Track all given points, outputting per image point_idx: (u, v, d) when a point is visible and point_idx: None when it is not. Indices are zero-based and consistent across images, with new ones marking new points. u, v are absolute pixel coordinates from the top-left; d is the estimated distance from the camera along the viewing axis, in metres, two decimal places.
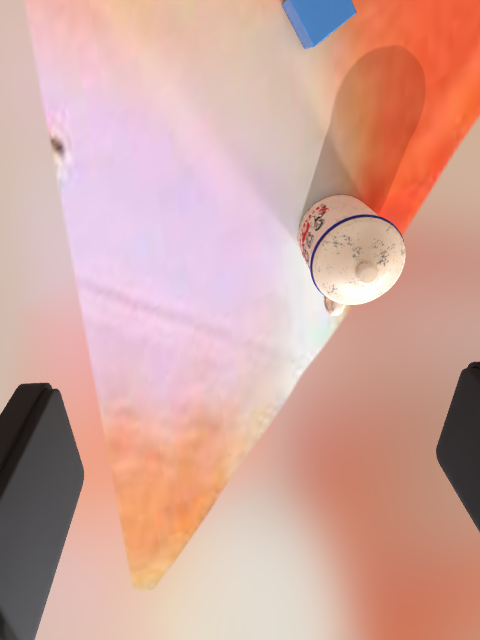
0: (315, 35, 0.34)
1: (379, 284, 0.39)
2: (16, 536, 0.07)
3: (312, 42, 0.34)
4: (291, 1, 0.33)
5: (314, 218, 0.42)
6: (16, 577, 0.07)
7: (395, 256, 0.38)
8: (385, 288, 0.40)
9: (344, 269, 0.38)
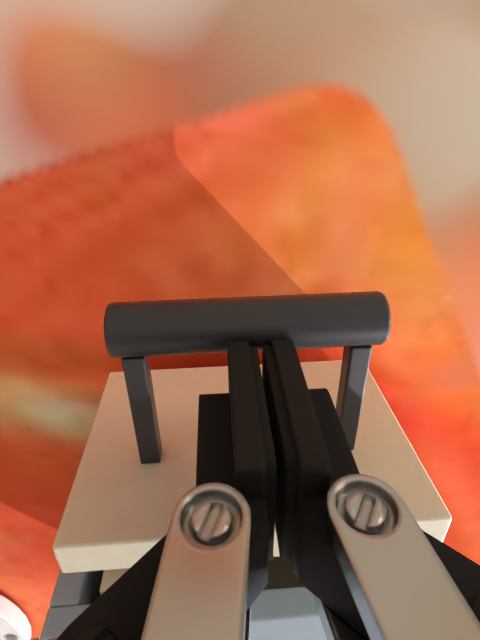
0: None
1: None
2: None
3: None
4: None
5: None
6: None
7: None
8: None
9: None
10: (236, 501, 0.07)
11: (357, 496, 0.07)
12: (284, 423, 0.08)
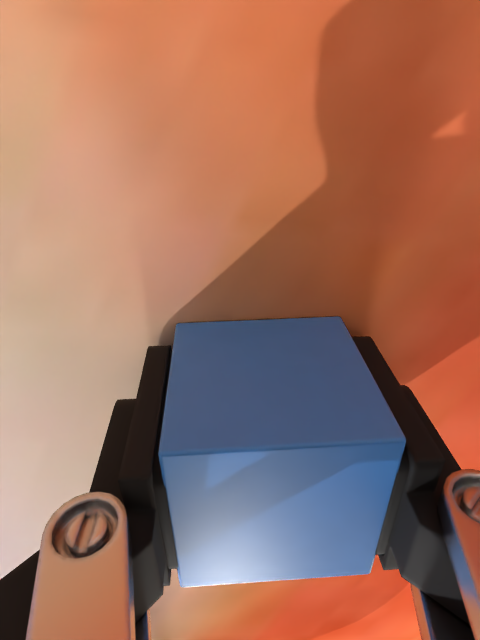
0: (201, 571, 0.08)
1: None
2: None
3: (180, 577, 0.08)
4: (162, 464, 0.07)
5: None
6: None
7: None
8: None
9: None
10: (116, 511, 0.06)
11: (473, 491, 0.07)
12: None
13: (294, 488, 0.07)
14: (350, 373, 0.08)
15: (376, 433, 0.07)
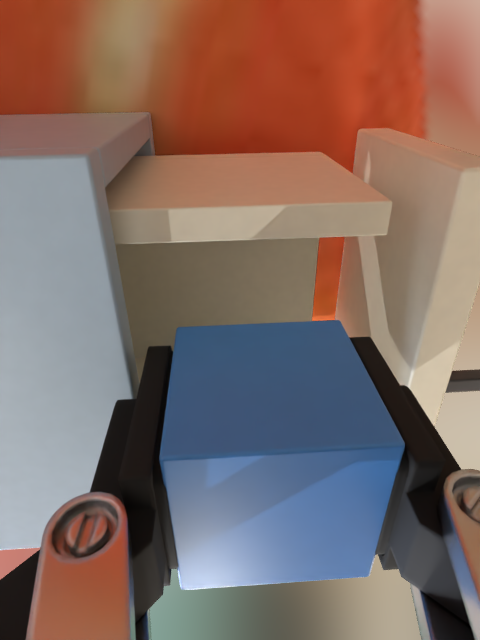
0: (201, 574, 0.08)
1: None
2: None
3: (181, 580, 0.08)
4: (163, 469, 0.07)
5: None
6: None
7: None
8: None
9: None
10: (116, 511, 0.06)
11: (473, 491, 0.07)
12: None
13: (294, 492, 0.07)
14: (349, 377, 0.08)
15: (375, 438, 0.07)
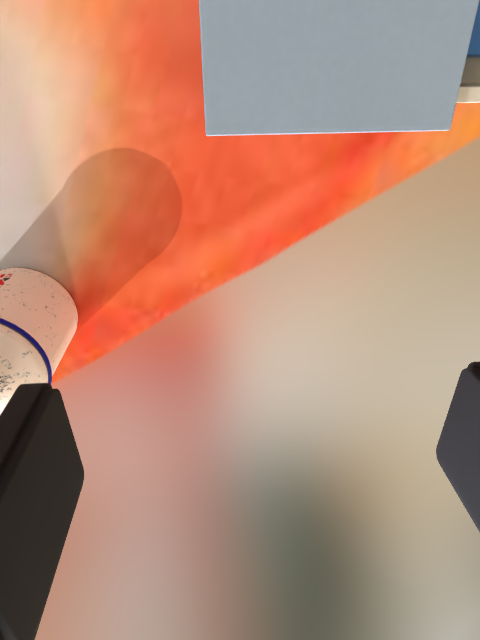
0: None
1: None
2: (16, 536, 0.07)
3: None
4: None
5: None
6: (16, 577, 0.07)
7: None
8: None
9: None
10: None
11: None
12: None
13: None
14: None
15: None
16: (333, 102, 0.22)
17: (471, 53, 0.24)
